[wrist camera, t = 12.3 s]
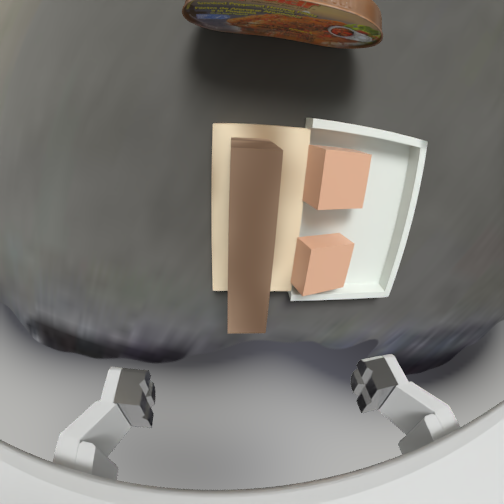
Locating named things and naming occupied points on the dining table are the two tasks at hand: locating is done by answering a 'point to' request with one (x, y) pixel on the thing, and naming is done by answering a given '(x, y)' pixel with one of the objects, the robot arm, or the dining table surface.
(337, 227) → the tray
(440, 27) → the dining table surface
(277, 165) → the tall tan block
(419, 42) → the dining table surface
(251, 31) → the tin
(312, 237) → the tile
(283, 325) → the dining table surface
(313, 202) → the tile
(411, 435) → the robot arm
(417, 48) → the dining table surface
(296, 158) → the board
